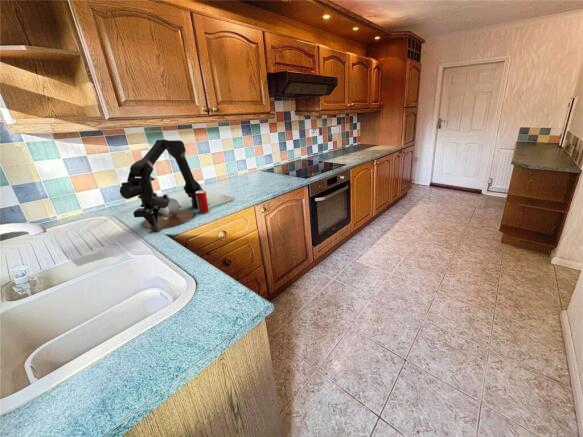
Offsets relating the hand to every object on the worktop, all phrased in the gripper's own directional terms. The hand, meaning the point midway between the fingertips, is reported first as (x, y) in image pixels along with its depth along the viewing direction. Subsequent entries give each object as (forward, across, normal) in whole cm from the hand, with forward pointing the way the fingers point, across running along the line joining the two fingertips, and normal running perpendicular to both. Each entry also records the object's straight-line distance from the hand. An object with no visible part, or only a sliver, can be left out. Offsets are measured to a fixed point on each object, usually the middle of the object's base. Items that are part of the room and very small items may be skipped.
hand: (154, 224), depth 121 cm
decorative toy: (+3, +15, 0) cm, 15 cm away
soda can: (+3, +22, -17) cm, 28 cm away
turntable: (+3, +13, 0) cm, 13 cm away
